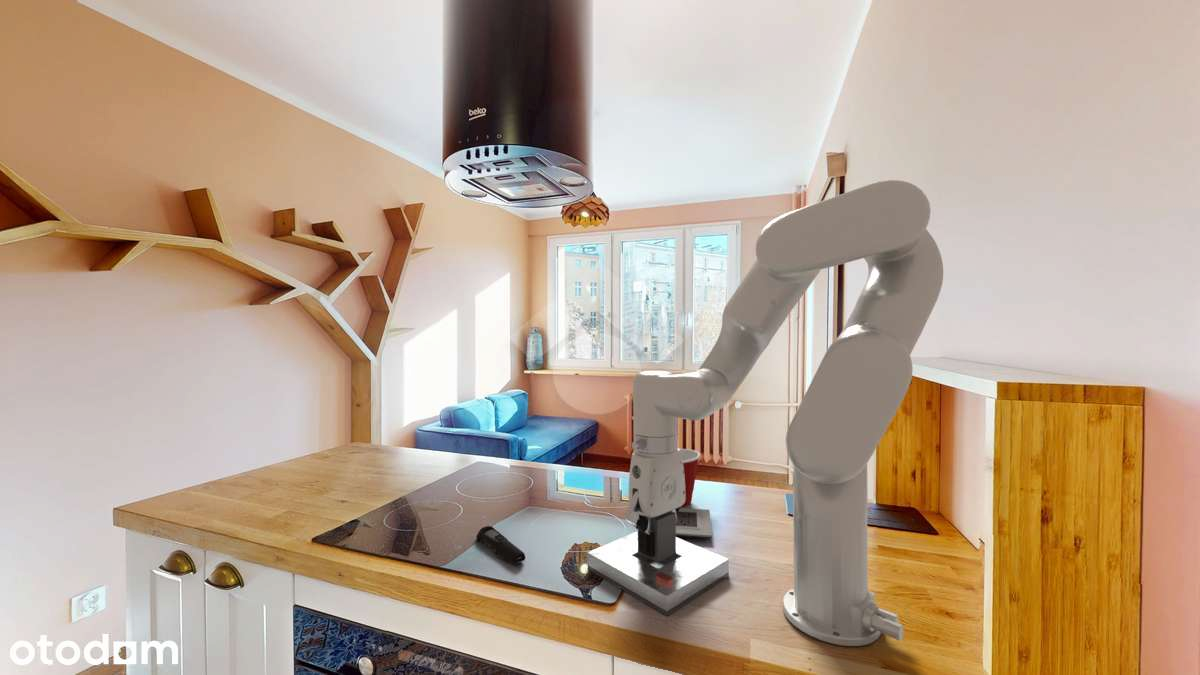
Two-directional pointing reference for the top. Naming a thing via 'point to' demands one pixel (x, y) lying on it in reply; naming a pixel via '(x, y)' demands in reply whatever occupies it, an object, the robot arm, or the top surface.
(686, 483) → the plastic cup
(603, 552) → the socket plate
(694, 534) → the electrical outlet
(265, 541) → the top surface
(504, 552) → the electric trimmer
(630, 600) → the top surface
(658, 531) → the block
